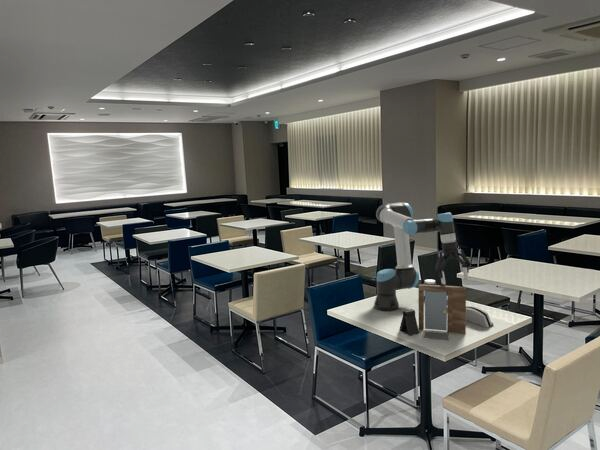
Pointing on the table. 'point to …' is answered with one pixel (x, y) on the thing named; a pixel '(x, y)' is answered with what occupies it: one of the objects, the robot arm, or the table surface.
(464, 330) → the door frame
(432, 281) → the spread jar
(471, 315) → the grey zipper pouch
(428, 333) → the mat
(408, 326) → the phone stand
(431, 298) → the door
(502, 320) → the table surface
